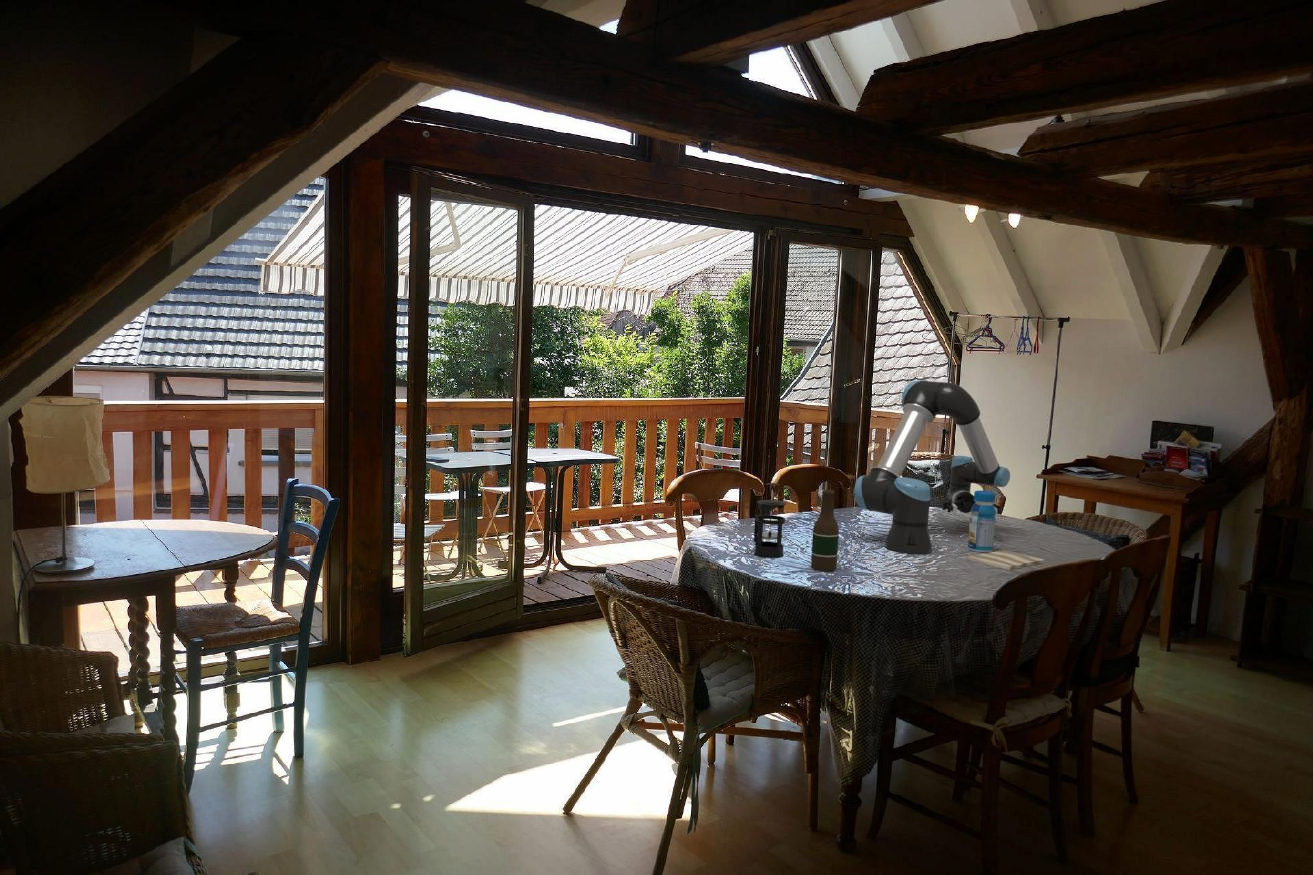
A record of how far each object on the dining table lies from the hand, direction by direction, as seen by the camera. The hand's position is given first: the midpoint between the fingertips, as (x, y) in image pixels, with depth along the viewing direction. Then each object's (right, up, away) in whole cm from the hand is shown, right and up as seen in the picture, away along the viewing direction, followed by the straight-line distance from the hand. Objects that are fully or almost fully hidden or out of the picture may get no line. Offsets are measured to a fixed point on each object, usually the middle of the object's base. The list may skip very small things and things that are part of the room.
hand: (975, 511), depth 335 cm
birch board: (+1, -14, -26) cm, 29 cm away
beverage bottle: (-2, -12, -10) cm, 16 cm away
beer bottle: (-61, -14, -46) cm, 78 cm away
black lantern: (-76, -11, -30) cm, 83 cm away
